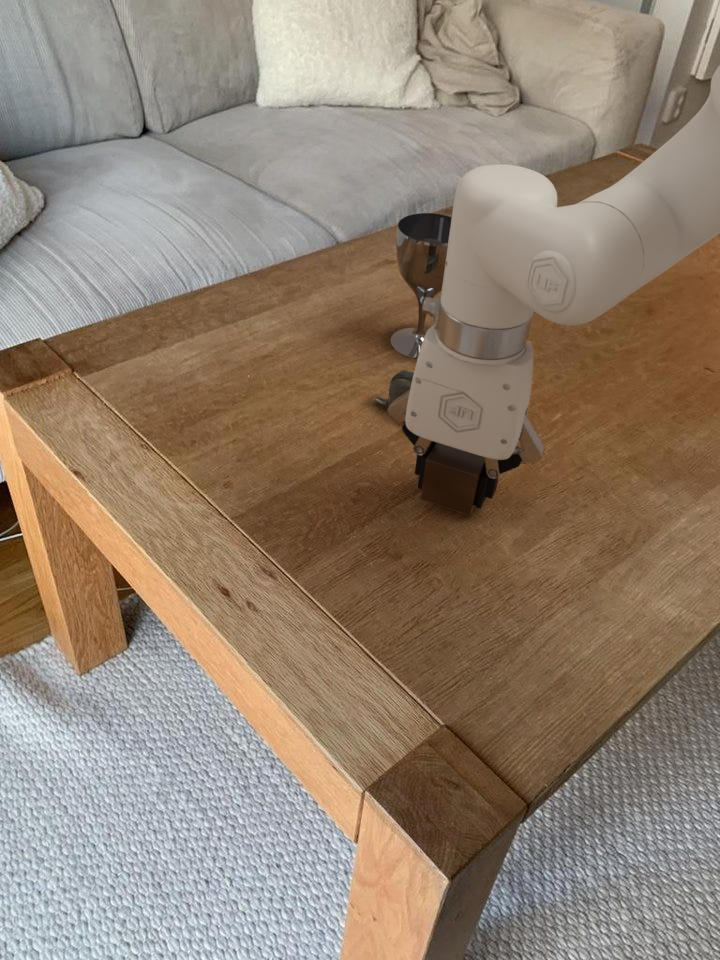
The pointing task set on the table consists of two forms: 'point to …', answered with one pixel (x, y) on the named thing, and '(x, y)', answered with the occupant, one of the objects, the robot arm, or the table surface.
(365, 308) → the table surface
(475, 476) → the walnut block
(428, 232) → the wine glass
